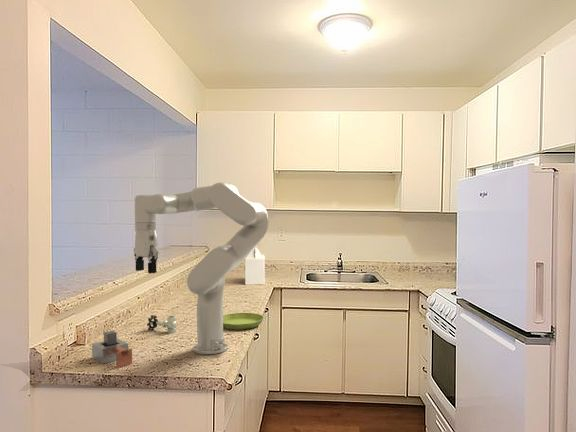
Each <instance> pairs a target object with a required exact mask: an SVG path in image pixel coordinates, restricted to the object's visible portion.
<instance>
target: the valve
mask: <svg viewBox="0 0 576 432" xmlns="http://www.w3.org/2000/svg"><path fill="white" fill-rule="evenodd" d="M166 319H167V320H163V321H162V320H161V321H160V320H158V317H157V315H154V314H152V315H150V317H148V318H147V320H148V323H147V324H146V326H148V328H147V329H148V330H149V331H154V330H155V329H156V328H157V327H158V326H159V327H162V328H166V329H167V330H166V331H167V334H175V333H176V328H177V325H178V324H177V321H176V320H177V319H176V315H169V316H167V317H166Z"/></svg>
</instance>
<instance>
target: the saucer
mask: <svg viewBox="0 0 576 432" xmlns="http://www.w3.org/2000/svg"><path fill="white" fill-rule="evenodd" d="M264 318H265V317H264V316H263V315H262V314H259V313H255V312H254V313H252V312H236V313H229V314H223V328H225V329H228V330H249V329H252V328H256V327H258V326H259V325H260V324H261V323H262V322H263V321H264Z"/></svg>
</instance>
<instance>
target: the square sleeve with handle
mask: <svg viewBox="0 0 576 432" xmlns="http://www.w3.org/2000/svg"><path fill="white" fill-rule="evenodd" d="M92 357H93V358H94V359H93V358H92ZM91 358H92V359H93V360H95V359H96V360H95V361H97V360H98V361H97V362H98V363H100V362H101V363H100V364H102V363H105V364H109V363H112V361H113V362H116V368H122V367H125V366H129V365H133V349H132V348H129V343H128V342H126V341H124V340H122V339H119V338H117V344H116V345H112V346H107V347H106V346H104V340H103V341H99V342H93V343H91ZM108 362H109V363H108Z"/></svg>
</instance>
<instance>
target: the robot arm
mask: <svg viewBox="0 0 576 432" xmlns="http://www.w3.org/2000/svg"><path fill="white" fill-rule="evenodd" d="M212 209H213V210H214V209H218V210H219V211H220V212H222V213H223V214H224V215H226V216H227V217H229V219H231V220H232V221H233V222H235V223H236V224H238V225H241V226H243V227H242V228H241V229H239V230H238V231H237V232H236V233H235V234H234V235H233V236H232V237H231V239H229V241H227V242H226V243H225V244H223V245H220V246H217V247H214V248H212V249H211V250H210V251H209V252H208V253H207V254H206V255H205V256H204V257H202V259H201V260H200V261H199V262H198V263H197V264H196V266H194V268H193V269H192V270H191V271H190V272H189V273H188V275H187V279H186V284H187V289H188V291H190V292H191V293H192V294H195V295H197V299H196V300H197V301H196V320H197V321H196V323H197V324H196V326H197V327H196V328H197V329H196V334H197V343H196V344H194V345H193V347H192V350H193V352H194V353H196V354H200V355H216V354H220V353H223V352H225V351H227V350H228V346H229V344H228V343H226V342H225V337H224V327H223V316H224V290H225V281H226V279H225V277H226V274H227V273H229V272H231V271H233V270H235V269H236V268H237V267H239V265H240V264H241V263H242V262H243V260H244V261H245V259H246V256H247V255H248V254H249V253H250V252H251V251H252V250H253V249H254V248H255V247H256V245H257V246H258V245H259V243H261V241H262V240H263V238H264V237H265V235H266V234H267V231H268V229H269V222H270V221H269V214H268V211H267V209H266V207H265V206H264V205H263V204H262V203H260V202H258V201H249V200H247V199H246V198H244V197H243V196H242V195H240V192H239V189H238V188H237V187H236V186H235V185H234V184H231V183H228V182H216V183H214V184H212V185H208V186H201V187H195V188H193V189H192V190H191V191H188V192H182V193H175V194H171V193H170V194H168V193H166V194H165V193H157V194H138V195H136V196H135V197H134V231H135V237H134V238H135V239H134V248H133V253H134V255H133V256H134V260H135V271H136V272H141V271H144V270H145V260H144V258H147V261H148V262H147V274H156V273H157V262H158V255H159V246H158V245H159V244H158V236H157V232H156V230H157V229H156V228H157V227H156V225H157V224H156V220H157V219H156V215H168V214H169V215H170V214H171V215H172V214H178V213H179V214H180V213H186V212H192V211H193V212H194V211H196V212H198V211H205V210H212Z"/></svg>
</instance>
